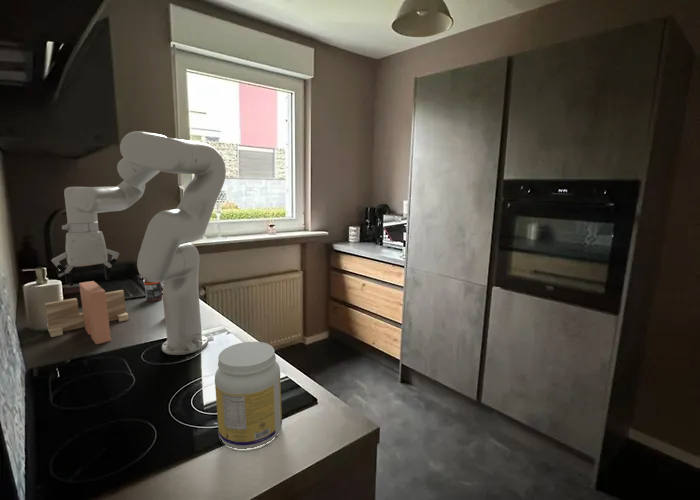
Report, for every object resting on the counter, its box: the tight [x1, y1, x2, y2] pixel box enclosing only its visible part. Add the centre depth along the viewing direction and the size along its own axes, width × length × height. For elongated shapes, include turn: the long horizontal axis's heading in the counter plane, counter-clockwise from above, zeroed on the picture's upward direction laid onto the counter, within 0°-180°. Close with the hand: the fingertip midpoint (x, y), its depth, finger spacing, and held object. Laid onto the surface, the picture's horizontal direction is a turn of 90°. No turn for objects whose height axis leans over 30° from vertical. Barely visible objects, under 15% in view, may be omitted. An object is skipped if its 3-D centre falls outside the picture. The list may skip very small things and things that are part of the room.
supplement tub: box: [214, 341, 283, 449], centre depth 73 cm, size 12×12×17 cm
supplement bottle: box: [143, 279, 163, 303], centre depth 156 cm, size 6×6×11 cm
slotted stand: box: [44, 289, 130, 338], centre depth 130 cm, size 8×22×10 cm, turn 134°
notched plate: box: [78, 280, 112, 345], centre depth 121 cm, size 16×4×16 cm, turn 44°
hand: (89, 282), depth 119 cm, fingers open, 9 cm apart
